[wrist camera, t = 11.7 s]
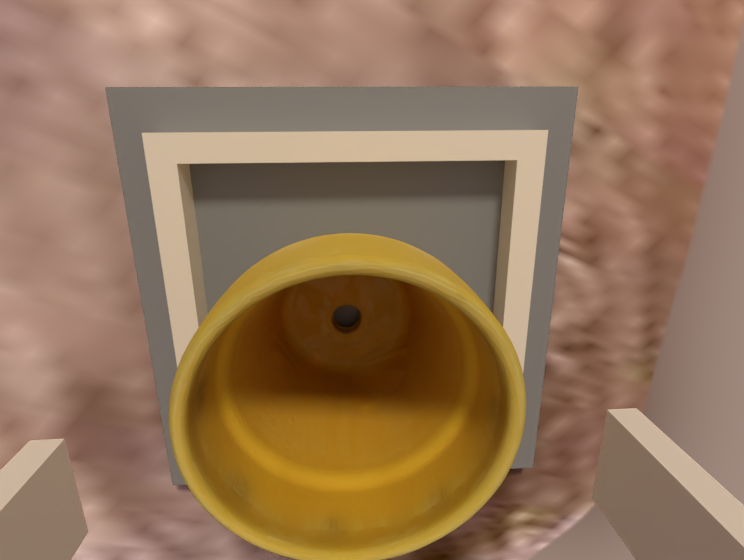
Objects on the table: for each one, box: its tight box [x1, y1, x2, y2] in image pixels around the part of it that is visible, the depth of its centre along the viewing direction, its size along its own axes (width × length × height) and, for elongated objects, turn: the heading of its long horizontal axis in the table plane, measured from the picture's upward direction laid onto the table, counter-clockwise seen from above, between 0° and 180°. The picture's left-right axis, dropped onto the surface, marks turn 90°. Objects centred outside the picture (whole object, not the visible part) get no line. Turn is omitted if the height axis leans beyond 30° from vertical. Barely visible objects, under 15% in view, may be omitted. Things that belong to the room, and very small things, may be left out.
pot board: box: [105, 87, 578, 485], centre depth 22 cm, size 20×20×2 cm
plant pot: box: [168, 233, 526, 560], centre depth 17 cm, size 10×10×10 cm
